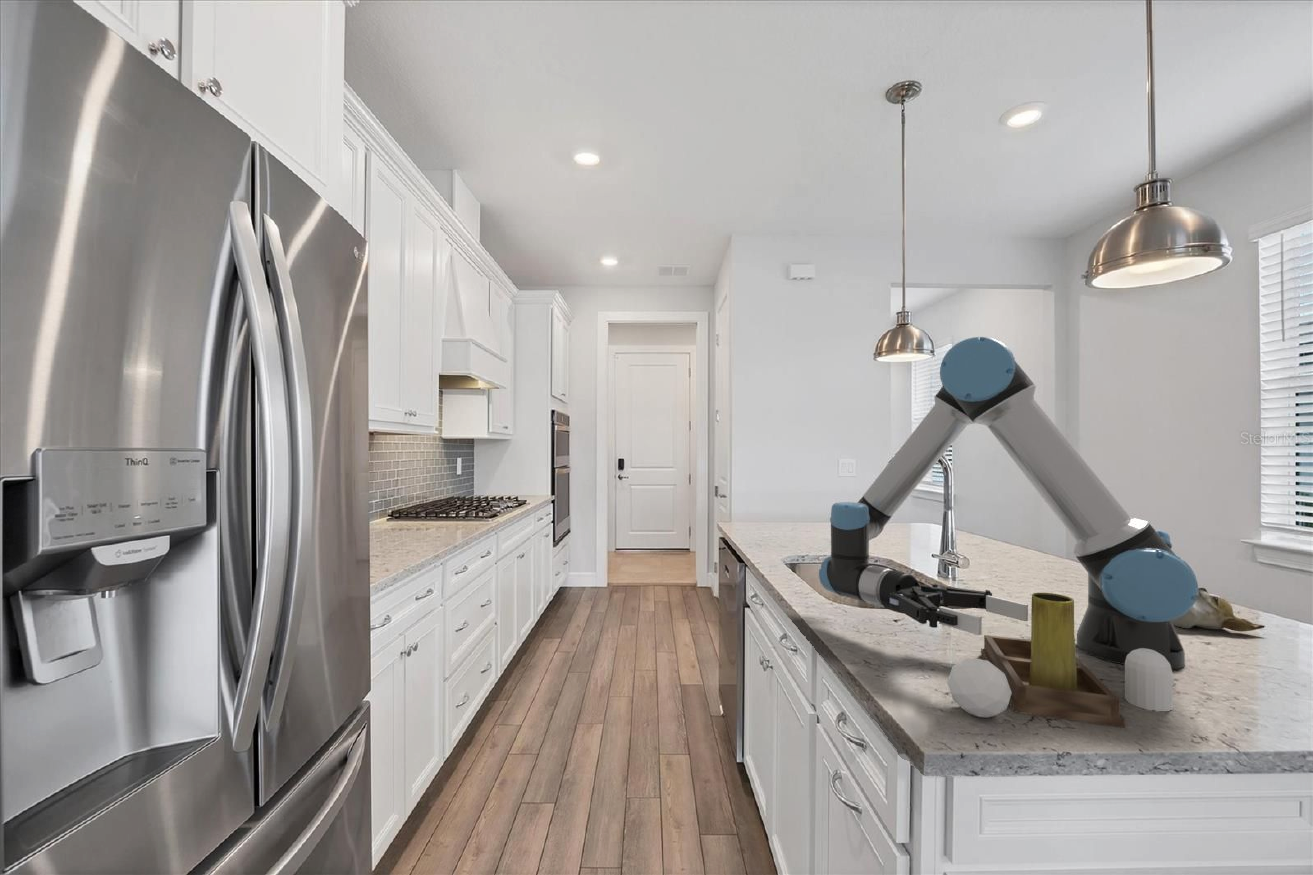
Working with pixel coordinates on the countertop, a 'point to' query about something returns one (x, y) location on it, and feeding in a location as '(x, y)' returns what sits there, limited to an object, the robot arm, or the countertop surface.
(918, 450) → the robot arm
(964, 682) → the ball
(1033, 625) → the vase
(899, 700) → the countertop surface
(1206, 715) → the countertop surface
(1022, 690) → the tray
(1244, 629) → the ceramic sculpture
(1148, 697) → the white dome-topped block
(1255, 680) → the countertop surface
